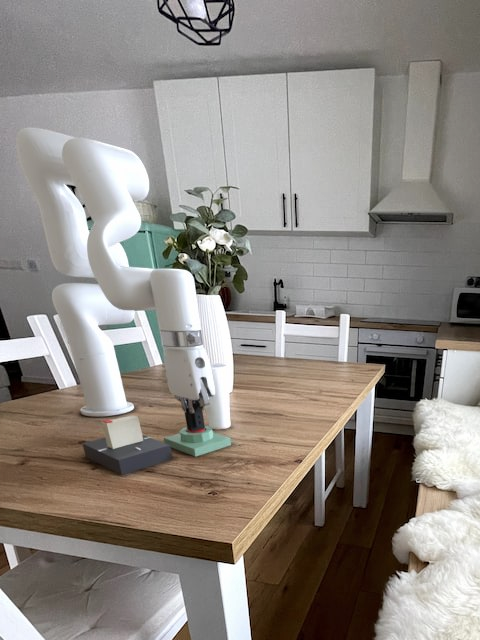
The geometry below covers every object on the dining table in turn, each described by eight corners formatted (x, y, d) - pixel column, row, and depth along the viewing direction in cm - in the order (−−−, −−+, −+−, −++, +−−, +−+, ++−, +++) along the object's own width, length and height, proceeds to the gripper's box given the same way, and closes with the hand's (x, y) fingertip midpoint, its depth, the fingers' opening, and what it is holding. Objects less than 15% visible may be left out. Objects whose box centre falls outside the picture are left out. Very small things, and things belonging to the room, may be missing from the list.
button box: (165, 445, 86) (162, 429, 85) (200, 434, 93) (198, 420, 91) (195, 456, 81) (192, 440, 79) (231, 444, 87) (229, 429, 86)
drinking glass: (225, 432, 95) (217, 368, 89) (199, 429, 96) (190, 367, 90) (238, 424, 101) (232, 364, 95) (214, 422, 102) (206, 362, 96)
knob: (138, 438, 80) (132, 413, 78) (143, 440, 79) (138, 415, 77) (107, 446, 76) (100, 420, 74) (112, 449, 75) (106, 422, 73)
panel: (85, 457, 79) (81, 442, 77) (136, 443, 86) (133, 430, 85) (121, 475, 72) (117, 459, 70) (173, 458, 79) (170, 444, 78)
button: (184, 437, 85) (183, 429, 85) (199, 433, 88) (198, 425, 87) (194, 440, 84) (193, 432, 83) (209, 436, 86) (208, 428, 86)
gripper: (222, 341, 76) (233, 431, 84) (177, 336, 84) (191, 419, 92) (187, 344, 71) (202, 441, 78) (142, 338, 78) (160, 426, 86)
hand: (196, 429), depth 85 cm, fingers closed
